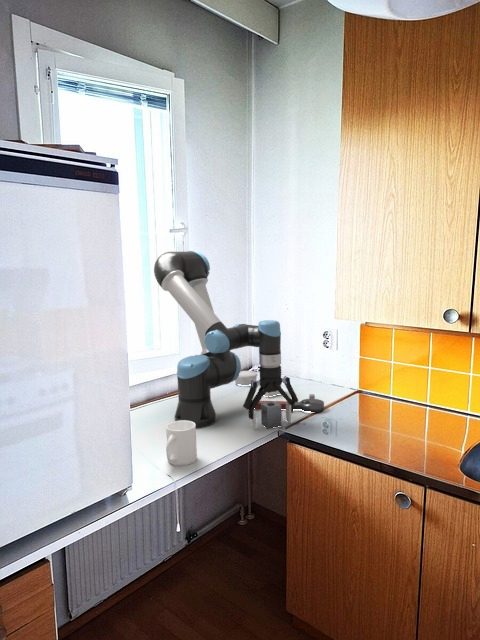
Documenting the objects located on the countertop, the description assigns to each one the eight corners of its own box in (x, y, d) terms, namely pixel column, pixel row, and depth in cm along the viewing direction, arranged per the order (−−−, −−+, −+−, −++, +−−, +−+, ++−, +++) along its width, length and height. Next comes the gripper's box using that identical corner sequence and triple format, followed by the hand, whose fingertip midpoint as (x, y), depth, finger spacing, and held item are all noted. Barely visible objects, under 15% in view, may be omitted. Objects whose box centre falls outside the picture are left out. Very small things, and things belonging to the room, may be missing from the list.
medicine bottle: (281, 395, 198) (281, 367, 197) (268, 398, 194) (268, 370, 193) (271, 391, 204) (271, 364, 203) (258, 394, 200) (257, 367, 199)
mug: (154, 468, 133) (152, 432, 131) (178, 452, 143) (176, 418, 142) (180, 473, 129) (178, 437, 127) (202, 456, 140) (201, 422, 138)
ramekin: (239, 380, 224) (239, 369, 224) (261, 382, 220) (260, 371, 219) (229, 386, 214) (229, 375, 213) (252, 388, 210) (252, 377, 209)
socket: (267, 429, 160) (267, 406, 159) (261, 424, 165) (260, 402, 164) (281, 426, 162) (281, 404, 161) (275, 421, 167) (274, 400, 166)
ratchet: (247, 411, 178) (247, 396, 178) (250, 404, 187) (250, 390, 186) (324, 414, 174) (324, 398, 173) (323, 406, 182) (323, 391, 182)
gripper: (240, 371, 153) (242, 433, 156) (307, 363, 161) (308, 422, 164) (232, 367, 160) (234, 426, 163) (297, 359, 168) (298, 416, 171)
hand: (271, 424), depth 163 cm, fingers open, 13 cm apart
